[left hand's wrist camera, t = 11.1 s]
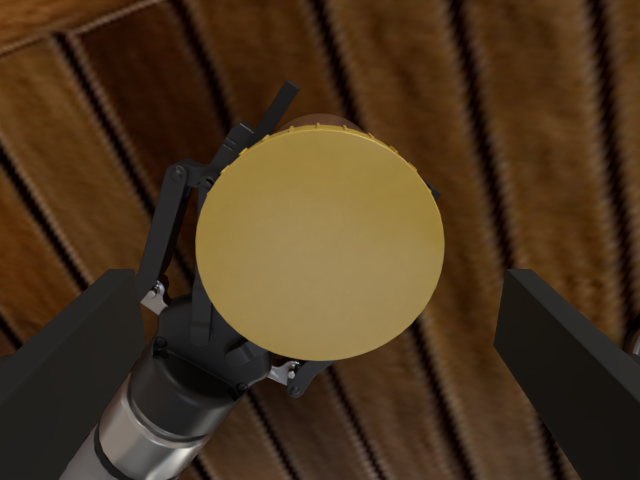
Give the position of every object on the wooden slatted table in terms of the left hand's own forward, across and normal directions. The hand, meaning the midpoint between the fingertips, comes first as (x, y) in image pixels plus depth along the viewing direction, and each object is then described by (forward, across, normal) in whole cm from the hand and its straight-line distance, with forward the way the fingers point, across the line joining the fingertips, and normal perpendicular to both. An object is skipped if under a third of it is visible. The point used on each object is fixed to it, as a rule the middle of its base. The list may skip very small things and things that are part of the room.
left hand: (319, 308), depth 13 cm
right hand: (+13, -3, -4) cm, 14 cm away
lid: (+5, 0, 0) cm, 5 cm away
